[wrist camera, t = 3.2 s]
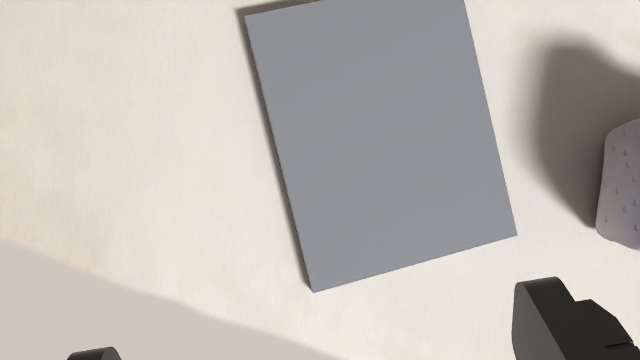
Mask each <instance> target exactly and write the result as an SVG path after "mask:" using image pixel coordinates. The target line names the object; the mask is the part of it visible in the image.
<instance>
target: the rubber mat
mask: <svg viewBox="0 0 640 360" xmlns="http://www.w3.org/2000/svg"><path fill="white" fill-rule="evenodd" d="M244 21H245V26H246V30H247V34H248V38H249V42H250V46H251V50H252V54H253V58H254V62H255V66H256V70H257V74H258V78H259V82H260V86H261V90H262V94H263V98H264V102H265V106H266V110H267V114H268V118H269V122H270V126H271V130H272V134H273V138H274V142H275V146H276V150H277V154H278V158H279V162H280V166H281V171H282V175H283V179H284V183H285V187H286V191H287V195H288V199H289V203H290V207H291V211H292V215H293V219H294V223H295V227H296V231H297V235H298V239H299V243H300V247H301V251H302V255H303V259H304V263H305V267H306V271H307V275H308V279H309V283H310V287H311V291H312V292H313V293H316V292H319V291H323V290H326V289H330V288H333V287H337V286H340V285H344V284H348V283H351V282H355V281H358V280H362V279H365V278H369V277H372V276H376V275H379V274H383V273H386V272H390V271H393V270H397V269H400V268H404V267H407V266H411V265H414V264H418V263H422V262H425V261H429V260H432V259H436V258H439V257H443V256H446V255H450V254H453V253H457V252H460V251H464V250H467V249H471V248H474V247H478V246H481V245H485V244H489V243H492V242H496V241H499V240H503V239H506V238H510V237H513V236H517V231H516V227H515V223H514V218H513V214H512V209H511V205H510V201H509V196H508V192H507V187H506V183H505V179H504V174H503V170H502V166H501V161H500V157H499V152H498V148H497V144H496V139H495V135H494V130H493V126H492V122H491V117H490V113H489V108H488V104H487V100H486V95H485V91H484V86H483V82H482V78H481V73H480V69H479V65H478V60H477V56H476V51H475V47H474V43H473V38H472V34H471V29H470V25H469V21H468V16H467V12H466V7H465V3H464V0H320V1H315V2H310V3H305V4H300V5H295V6H290V7H285V8H280V9H276V10H271V11H266V12H261V13H256V14H251V15H246V16H244Z"/></svg>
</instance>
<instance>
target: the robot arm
mask: <svg viewBox="0 0 640 360" xmlns="http://www.w3.org/2000/svg"><path fill="white" fill-rule="evenodd" d="M512 344H513V349H514V353H515V357H516V360H640V350H639V349H638V347H637V346H634V344H633V340H632V339H631V337H630V336H629V335H628V333H627V332H626V331H625V329H624V328H623V326H622V325H621V324H620V322H619V321H618V319H617V318H616V317H615V316H613V315H612V314H611V313H609V312H608V311H606V310H605V309H604V308H602V307H601V306H600V305H598V304H597V303H595V302H594V301H593V300H591V299H589V300H582V301H576V302H575V301H574V299H573V297H572V296H571V294H570V293H569V291H568V290H567V288H566V287H565V285H564V284H563V282H562V281H561V280H560V279H559V278H558V277H549V278H542V279H536V280H530V281H524V282H518V283H517V284H516V286H515V292H514V306H513V321H512ZM67 360H121V358H120V356H119V354H118V352H117V351H116V350H115V348H113V347H106V348H99V349H93V350H87V351H81V352H75V353H72V354H71V355H70V356H69V357H68V359H67Z"/></svg>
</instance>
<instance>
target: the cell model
mask: <svg viewBox="0 0 640 360" xmlns="http://www.w3.org/2000/svg"><path fill="white" fill-rule="evenodd" d="M595 224H596V230H597V233H599V234H600V235H601V236H602V237H603V238H605V239H607V240H610V241H614V242H617V243H620V244H622V245H624V246H626V247H628V248H631V249H635V250H638V251H640V118H638V119H635V120H632V121H629V122H627V123H625V124H623V125H621V126H619V127H617V128H615V129H613V130H612V131H610V133H609V134H608V135H607V136H606V139H605V148H604V163H603V173H602V182H601V189H600V195H599V201H598V207H597V216H596V220H595Z"/></svg>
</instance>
